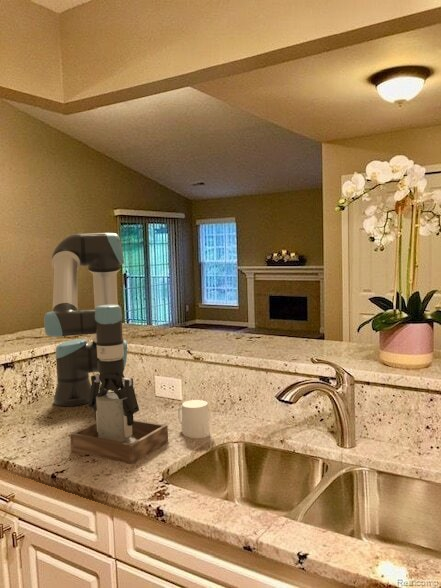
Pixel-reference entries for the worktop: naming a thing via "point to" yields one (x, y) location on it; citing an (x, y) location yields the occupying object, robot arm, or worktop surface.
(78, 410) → the worktop surface
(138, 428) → the box
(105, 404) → the grey speckled cylinder
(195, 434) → the mug
